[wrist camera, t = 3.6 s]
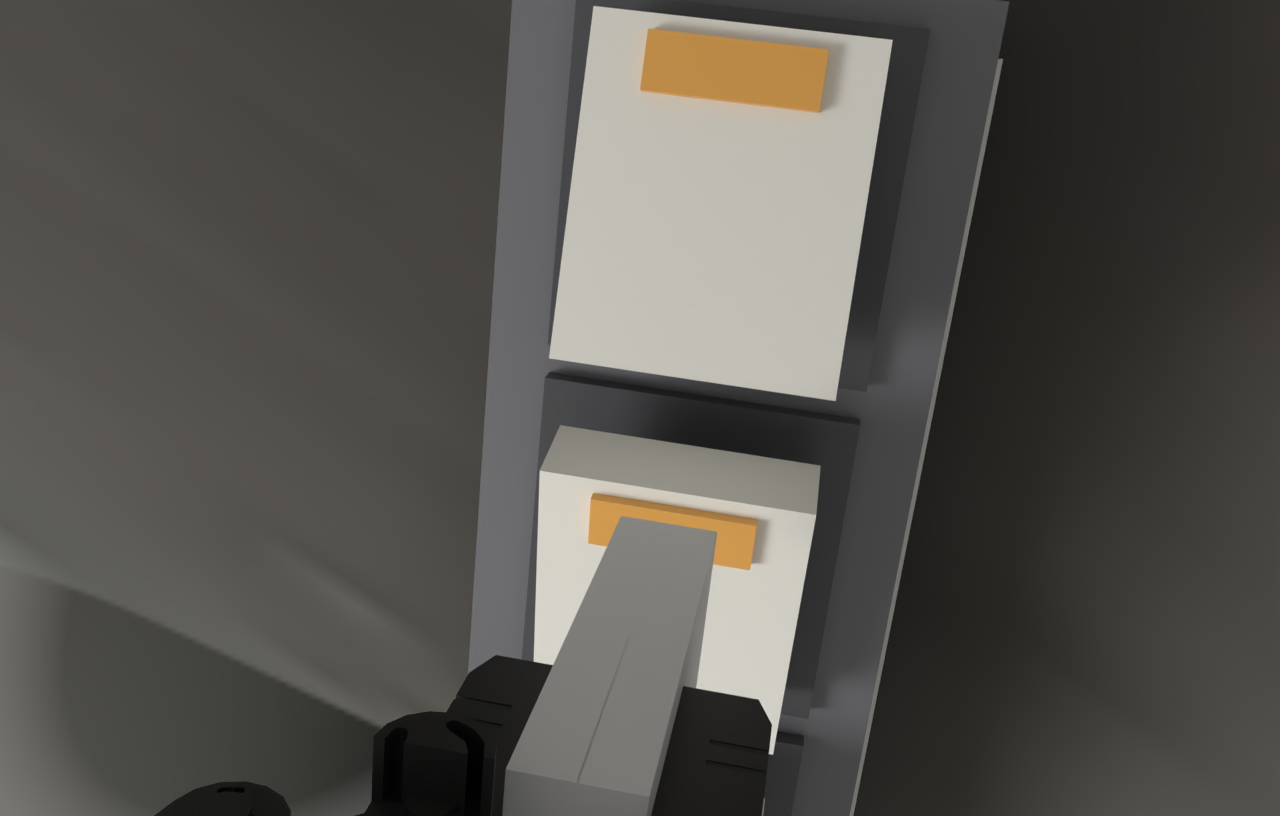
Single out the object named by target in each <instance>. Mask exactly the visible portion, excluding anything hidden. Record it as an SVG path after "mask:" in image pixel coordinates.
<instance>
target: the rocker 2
mask: <svg viewBox="0 0 1280 816" xmlns="http://www.w3.org/2000/svg"><path fill="white" fill-rule="evenodd" d="M820 468H821V466H820V465H813V464H807V463H801V462H794V461H788V460H781V459H775V458H768V457H762V456H756V455H749V454H743V453H736V452H730V451H723V450H717V449H710V448H704V447H698V446H691V445H685V444H678V443H672V442H665V441H659V440H653V439H646V438H640V437H633V436H627V435H620V434H614V433H608V432H601V431H595V430H588V429H582V428H575V427H569V426H563V425H560V427H559V429H558V431H557V433H556V436H555V438H554V440H553V442H552V444H551V447H550V449H549V451H548V453H547V455H546V458H545V460H544V462H543V464H542V466H541V469H540V474H539V506H538V538H537V570H536V602H535V634H534V662H538V663H544V664H549V665H553V664H554V662H555V660H556V658H557V655H558V653H559V651H560V649H561V647H562V645H563V642H564V640H565V638H566V636H567V634H568V631H569V629H570V627H571V625H572V623H573V620H574V618H575V616H576V614H577V612H578V609H579V607H580V605H581V603H582V601H583V598H584V596H585V594H586V592H587V590H588V587H589V585H590V583H591V581H592V579H593V576H594V574H595V572H596V570H597V568H598V565H599V563H600V561H601V559H602V557H603V555H604V552H605V550H606V548H607V546H608V544H609V541H610V539H611V537H612V535H613V533H614V530H615V528H616V526H617V524H618V522H619V519H620V517H621V516H625V517H631V518H637V519H643V520H649V521H655V522H661V523H667V524H673V525H680V526H686V527H692V528H698V529H704V530H710V531H716V532H717V538H716V546H715V553H714V561H713V568H712V575H711V583H710V590H709V597H708V605H707V612H706V620H705V627H704V634H703V642H702V649H701V656H700V664H699V671H698V679H697V686H696V688H697V689H703V690H708V691H714V692H719V693H725V694H730V695H736V696H742V697H747V698H753V699H758V700H759V701H760V703H761V705H762V707H763V709H764V711H765V712H766V714H767V716H768V718H769V720H770V722H771V724H772V730H771V739H770V748H769V754H772V755H773V752H774V746H775V741H776V735H777V730H778V724H779V719H780V713H781V708H782V702H783V697H784V691H785V686H786V680H787V674H788V669H789V663H790V658H791V652H792V647H793V641H794V636H795V630H796V625H797V619H798V614H799V608H800V603H801V597H802V591H803V586H804V580H805V575H806V569H807V564H808V558H809V553H810V547H811V542H812V536H813V531H814V525H815V520H816V513H817V502H818V490H819V479H820Z"/></svg>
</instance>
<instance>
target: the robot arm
mask: <svg viewBox="0 0 1280 816" xmlns="http://www.w3.org/2000/svg"><path fill="white" fill-rule="evenodd" d="M716 538H717V532H716V531H710V530H704V529H698V528H692V527H686V526H680V525H673V524H667V523H661V522H655V521H649V520H643V519H637V518H631V517H625V516H621V517H620V519H619V522H618V524H617V526H616V528H615V530H614V533H613V535H612V537H611V539H610V541H609V544H608V546H607V548H606V550H605V552H604V555H603V557H602V559H601V561H600V563H599V565H598V568H597V570H596V572H595V574H594V576H593V579H592V581H591V583H590V585H589V587H588V590H587V592H586V594H585V596H584V598H583V601H582V603H581V605H580V607H579V609H578V612H577V614H576V616H575V618H574V620H573V623H572V625H571V627H570V629H569V631H568V634H567V636H566V638H565V640H564V642H563V645H562V647H561V649H560V651H559V653H558V655H557V658H556V660H555V662H554V664H553V665H549V664H544V663H538V662H533V661H527V660H521V659H516V658H510V657H505V656H499V655H495V656H494V657H492V658H491V659H489V660H488V661H486V662H484V663H483V664H481V665H480V666H478V667H477V668H475V669H474V670H472V671H471V672H469V674H468V676H467V677H466V679H465V681H464V683H463V684H462V686H461V688H460V690H459V691H458V693H457V695H456V699H455V700H453V702H452V703H451V705H450V707H449V709H448V710H447V712H446V713H445V712H431V711H430V712H423V713H417V714H411V715H406V716H403V717H401V718H399V719H397V720H394V721H392V722H390V723H388V724H386V725H385V726H384V727H383V728H382V729H381V730H380V731H379V732H378V733H377V734H376V735H375V736H374V743H373V744H374V745H373V774H372V801H371V803H370V805H369V806H368V808H367V810H366V812H365V813H363V814H360V815H356V816H762V811H763V802H764V793H765V784H766V774H767V766H768V757H769V748H770V739H771V730H772V724H771V722H770V720H769V718H768V716H767V714H766V712H765V711H764V709H763V707H762V705H761V703H760V701H759V700H758V699H753V698H747V697H742V696H736V695H730V694H725V693H719V692H714V691H708V690H703V689H697V688H696V686H697V679H698V671H699V664H700V656H701V649H702V642H703V634H704V627H705V620H706V612H707V605H708V597H709V590H710V583H711V575H712V568H713V561H714V553H715V546H716ZM155 816H291V810H290V808H289V807H288V805H287V803H286V801H285V799H284V797H283V796H281V795H280V794H278V793H277V792H275V791H273V790H272V789H270V788H269V787H267V786H263V785H258V784H254V783H249V782H220V783H216V784H212V785H208V786H205V787H201V788H197V789H195V790H193V791H191V792H189V793H187V794H185V795H184V796H182V797H180V798H178V799H176V800H175V801H173V802H172V803H171V804H169V805H168V806H167V807H165V808H164V809H163V810H161V811H160V812H159V813H157V814H156V815H155Z"/></svg>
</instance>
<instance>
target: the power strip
mask: <svg viewBox="0 0 1280 816" xmlns="http://www.w3.org/2000/svg"><path fill="white" fill-rule="evenodd" d="M593 6H599V7H608V8H616V9H625V10H634V11H643V12H652V13H660V14H669V15H678V16H687V17H696V18H704V19H713V20H722V21H731V22H740V23H748V24H757V25H766V26H775V27H784V28H792V29H801V30H810V31H819V32H828V33H836V34H845V35H854V36H863V37H871V38H880V39H889V40H893V42H892V48H891V54H890V60H889V67H888V73H887V79H886V86H885V92H884V98H883V105H882V111H881V117H880V124H879V130H878V136H877V142H876V149H875V155H874V161H873V168H872V174H871V180H870V187H869V193H868V199H867V206H866V212H865V218H864V224H863V231H862V237H861V243H860V250H859V256H858V262H857V269H856V275H855V281H854V288H853V294H852V300H851V307H850V313H849V319H848V325H847V332H846V338H845V344H844V351H843V357H842V363H841V370H840V376H839V382H838V389H837V395H836V401H832V400H825V399H818V398H812V397H805V396H798V395H791V394H785V393H778V392H771V391H765V390H758V389H751V388H744V387H738V386H731V385H724V384H718V383H711V382H704V381H698V380H691V379H684V378H677V377H671V376H664V375H657V374H651V373H644V372H637V371H630V370H624V369H617V368H610V367H604V366H597V365H590V364H583V363H577V362H570V361H563V360H557V359H550V358H549V354H550V346H551V338H552V330H553V322H554V314H555V307H556V299H557V291H558V283H559V275H560V267H561V259H562V251H563V243H564V235H565V227H566V220H567V212H568V204H569V196H570V188H571V180H572V172H573V164H574V156H575V148H576V140H577V133H578V125H579V117H580V109H581V101H582V93H583V85H584V77H585V69H586V61H587V54H588V46H589V38H590V30H591V22H592V14H593ZM1008 7H1009V2H1008V1H999V0H512V11H511V26H510V41H509V56H508V72H507V87H506V102H505V117H504V133H503V148H502V163H501V178H500V194H499V209H498V224H497V239H496V254H495V270H494V285H493V300H492V315H491V331H490V346H489V361H488V376H487V392H486V407H485V422H484V437H483V453H482V468H481V483H480V498H479V514H478V529H477V544H476V559H475V575H474V590H473V605H472V620H471V635H470V651H469V666H468V674H469V672H471V671H472V670H474V669H475V668H477V667H478V666H480V665H481V664H483V663H484V662H486V661H488V660H489V659H491V658H492V657H494V656H495V655H499V656H505V657H510V658H516V659H521V660H527V661H533V662H534V634H535V602H536V570H537V538H538V506H539V474H540V469H541V466H542V464H543V462H544V460H545V458H546V455H547V453H548V451H549V449H550V447H551V444H552V442H553V440H554V438H555V436H556V433H557V431H558V429H559V427H560V425H563V426H569V427H575V428H582V429H588V430H595V431H601V432H608V433H614V434H620V435H627V436H633V437H640V438H646V439H653V440H659V441H665V442H672V443H678V444H685V445H691V446H698V447H704V448H710V449H717V450H723V451H730V452H736V453H743V454H749V455H756V456H762V457H768V458H775V459H781V460H788V461H794V462H801V463H807V464H813V465H820V466H821V468H820V479H819V490H818V502H817V513H816V520H815V525H814V531H813V536H812V542H811V547H810V553H809V558H808V564H807V569H806V575H805V580H804V586H803V591H802V597H801V603H800V608H799V614H798V619H797V625H796V630H795V636H794V641H793V647H792V652H791V658H790V663H789V669H788V674H787V680H786V686H785V691H784V697H783V702H782V708H781V713H780V719H779V724H778V730H777V735H776V741H775V746H774V752H773V755H772V754H769V757H768V766H767V774H766V784H765V793H764V798H765V803H764V812H763V816H853V815H854V810H855V805H856V800H857V795H858V790H859V785H860V780H861V775H862V770H863V765H864V759H865V754H866V749H867V744H868V739H869V734H870V729H871V724H872V719H873V714H874V709H875V704H876V699H877V694H878V689H879V684H880V679H881V674H882V668H883V663H884V658H885V653H886V648H887V643H888V638H889V633H890V628H891V623H892V618H893V613H894V608H895V603H896V598H897V593H898V588H899V583H900V578H901V572H902V567H903V562H904V557H905V552H906V547H907V542H908V537H909V532H910V527H911V522H912V517H913V512H914V507H915V502H916V497H917V492H918V487H919V482H920V476H921V471H922V466H923V461H924V456H925V451H926V446H927V441H928V436H929V431H930V426H931V421H932V416H933V411H934V406H935V401H936V396H937V391H938V385H939V380H940V375H941V370H942V365H943V360H944V355H945V350H946V345H947V340H948V335H949V330H950V325H951V320H952V315H953V310H954V305H955V300H956V295H957V289H958V284H959V279H960V274H961V269H962V264H963V259H964V254H965V249H966V244H967V239H968V234H969V229H970V224H971V219H972V214H973V209H974V204H975V199H976V193H977V188H978V183H979V178H980V173H981V168H982V163H983V158H984V153H985V148H986V143H987V138H988V133H989V128H990V123H991V118H992V113H993V108H994V102H995V97H996V92H997V87H998V82H999V77H1000V72H1001V67H1002V62H1003V59H1000V58H999V53H1000V48H1001V43H1002V37H1003V32H1004V27H1005V22H1006V17H1007V12H1008Z"/></svg>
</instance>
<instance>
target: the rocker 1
mask: <svg viewBox="0 0 1280 816" xmlns="http://www.w3.org/2000/svg"><path fill="white" fill-rule="evenodd" d="M892 42H893V40H889V39H880V38H871V37H863V36H854V35H845V34H836V33H828V32H819V31H810V30H801V29H792V28H784V27H775V26H766V25H757V24H748V23H740V22H731V21H722V20H713V19H704V18H696V17H687V16H678V15H669V14H660V13H652V12H643V11H634V10H625V9H616V8H608V7H599V6H593V14H592V22H591V30H590V38H589V46H588V54H587V61H586V69H585V77H584V85H583V93H582V101H581V109H580V117H579V125H578V133H577V140H576V148H575V156H574V164H573V172H572V180H571V188H570V196H569V204H568V212H567V220H566V227H565V235H564V243H563V251H562V259H561V267H560V275H559V283H558V291H557V299H556V307H555V314H554V322H553V330H552V338H551V346H550V354H549V358H550V359H557V360H563V361H570V362H577V363H583V364H590V365H597V366H604V367H610V368H617V369H624V370H630V371H637V372H644V373H651V374H657V375H664V376H671V377H677V378H684V379H691V380H698V381H704V382H711V383H718V384H724V385H731V386H738V387H744V388H751V389H758V390H765V391H771V392H778V393H785V394H791V395H798V396H805V397H812V398H818V399H825V400H832V401H836V395H837V389H838V382H839V376H840V370H841V363H842V357H843V351H844V344H845V338H846V332H847V325H848V319H849V313H850V307H851V300H852V294H853V288H854V281H855V275H856V269H857V262H858V256H859V250H860V243H861V237H862V231H863V224H864V218H865V212H866V206H867V199H868V193H869V187H870V180H871V174H872V168H873V161H874V155H875V149H876V142H877V136H878V130H879V124H880V117H881V111H882V105H883V98H884V92H885V86H886V79H887V73H888V67H889V60H890V54H891V48H892Z"/></svg>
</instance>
